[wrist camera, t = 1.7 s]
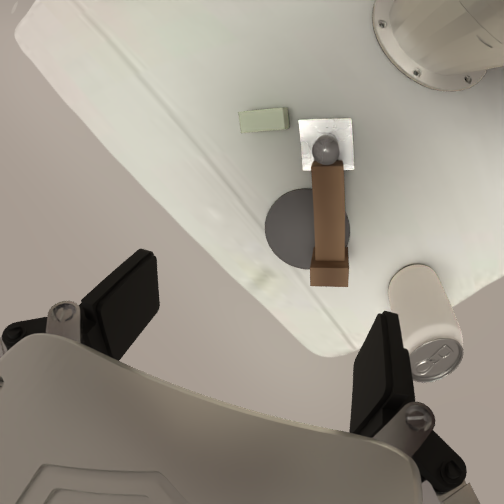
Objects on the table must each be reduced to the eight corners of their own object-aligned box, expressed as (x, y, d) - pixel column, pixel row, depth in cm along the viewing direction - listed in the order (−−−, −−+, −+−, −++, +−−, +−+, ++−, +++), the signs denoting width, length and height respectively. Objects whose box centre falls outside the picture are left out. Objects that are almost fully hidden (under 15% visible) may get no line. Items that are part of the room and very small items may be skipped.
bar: (346, 160, 26) (349, 169, 23) (347, 264, 31) (347, 286, 27) (309, 161, 27) (304, 170, 24) (314, 263, 32) (310, 286, 28)
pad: (349, 188, 28) (349, 189, 28) (348, 267, 32) (348, 269, 32) (261, 190, 31) (260, 191, 31) (269, 266, 35) (269, 268, 34)
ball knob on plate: (351, 118, 25) (355, 120, 21) (353, 168, 27) (357, 181, 23) (299, 119, 27) (291, 122, 22) (303, 169, 29) (297, 182, 24)
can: (376, 289, 33) (385, 367, 22) (415, 251, 29) (444, 322, 19) (410, 317, 33) (424, 393, 23) (448, 284, 30) (478, 356, 19)
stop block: (287, 107, 26) (282, 107, 24) (289, 127, 27) (284, 129, 25) (247, 111, 28) (238, 112, 25) (249, 130, 28) (241, 133, 26)
